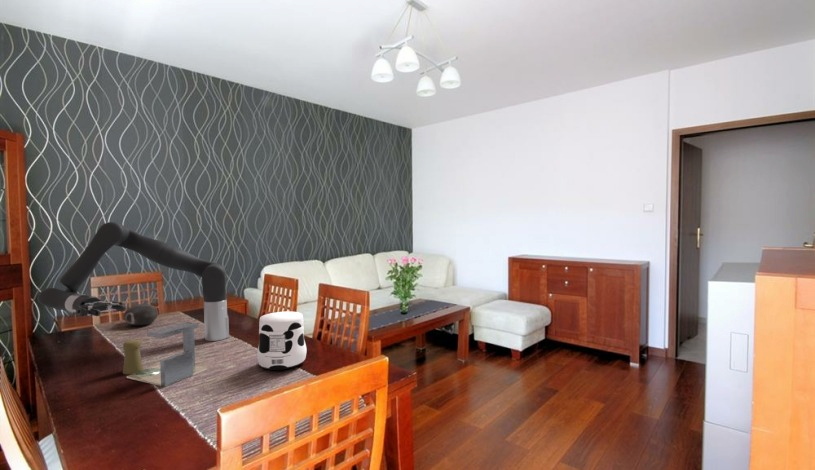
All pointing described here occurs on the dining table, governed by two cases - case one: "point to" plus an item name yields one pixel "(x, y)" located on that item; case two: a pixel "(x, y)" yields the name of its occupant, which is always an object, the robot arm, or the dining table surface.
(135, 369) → the cork
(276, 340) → the milk container
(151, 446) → the dining table surface
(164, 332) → the stand
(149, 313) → the decorative stone
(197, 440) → the dining table surface
